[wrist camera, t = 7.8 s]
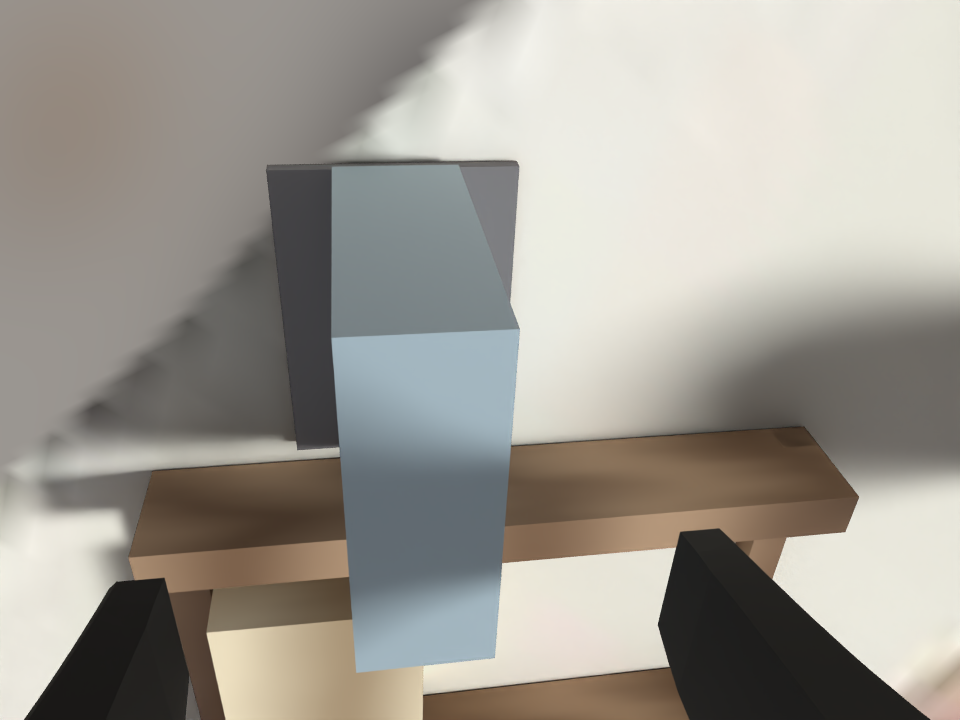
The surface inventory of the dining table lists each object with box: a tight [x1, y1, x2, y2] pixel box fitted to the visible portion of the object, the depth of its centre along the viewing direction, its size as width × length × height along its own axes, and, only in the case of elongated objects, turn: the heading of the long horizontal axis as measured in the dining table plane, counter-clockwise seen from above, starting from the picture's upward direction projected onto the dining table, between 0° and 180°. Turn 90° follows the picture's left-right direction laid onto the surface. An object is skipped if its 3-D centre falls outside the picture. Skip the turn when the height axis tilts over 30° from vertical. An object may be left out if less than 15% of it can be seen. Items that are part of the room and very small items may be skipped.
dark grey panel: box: [266, 161, 519, 450], centre depth 18 cm, size 5×7×1 cm
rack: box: [128, 427, 859, 720], centre depth 23 cm, size 17×11×3 cm
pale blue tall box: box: [331, 165, 520, 673], centre depth 15 cm, size 2×7×6 cm, turn 178°
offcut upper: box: [206, 577, 423, 720], centre depth 21 cm, size 5×7×2 cm
